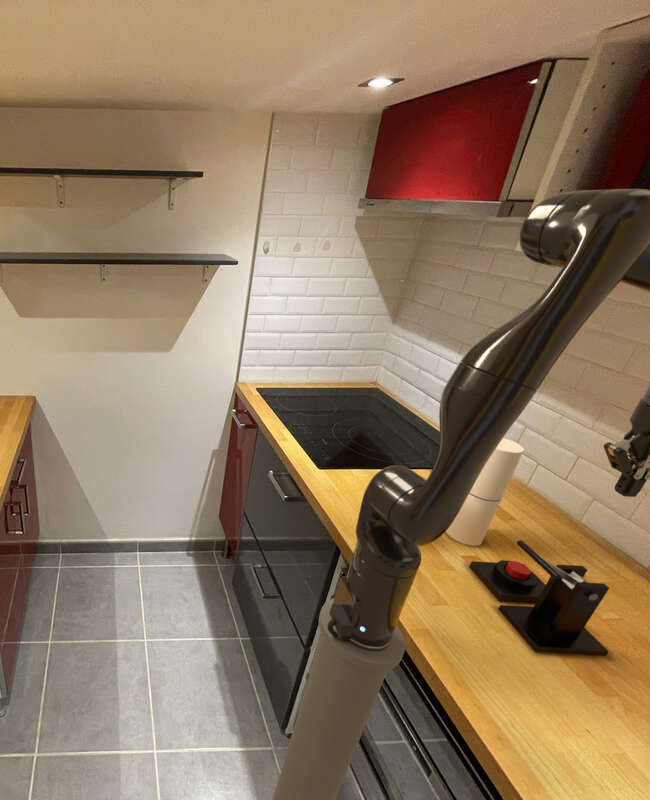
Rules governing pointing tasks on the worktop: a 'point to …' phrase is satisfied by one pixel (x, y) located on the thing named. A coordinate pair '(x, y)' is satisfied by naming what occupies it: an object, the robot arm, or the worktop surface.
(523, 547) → the lever
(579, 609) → the lever bracket
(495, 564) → the block
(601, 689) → the worktop surface
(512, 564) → the button
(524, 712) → the worktop surface
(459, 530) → the cylindrical container
